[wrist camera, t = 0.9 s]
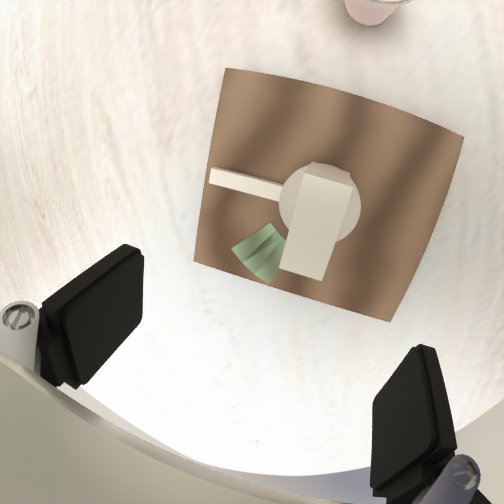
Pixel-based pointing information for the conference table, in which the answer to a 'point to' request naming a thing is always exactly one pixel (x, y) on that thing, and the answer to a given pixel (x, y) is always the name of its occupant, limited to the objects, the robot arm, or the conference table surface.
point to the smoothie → (372, 10)
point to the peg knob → (305, 211)
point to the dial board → (333, 153)
